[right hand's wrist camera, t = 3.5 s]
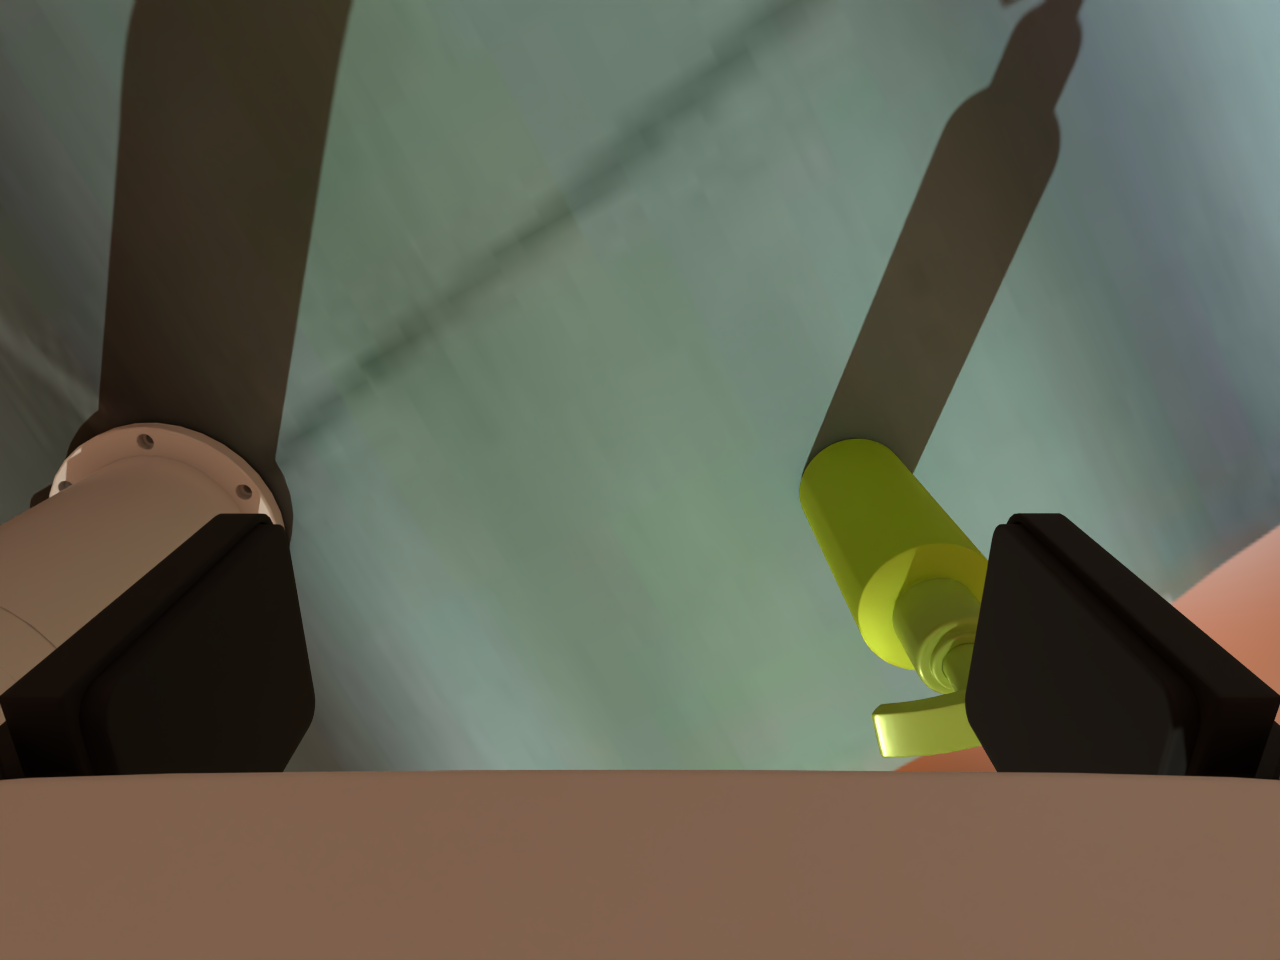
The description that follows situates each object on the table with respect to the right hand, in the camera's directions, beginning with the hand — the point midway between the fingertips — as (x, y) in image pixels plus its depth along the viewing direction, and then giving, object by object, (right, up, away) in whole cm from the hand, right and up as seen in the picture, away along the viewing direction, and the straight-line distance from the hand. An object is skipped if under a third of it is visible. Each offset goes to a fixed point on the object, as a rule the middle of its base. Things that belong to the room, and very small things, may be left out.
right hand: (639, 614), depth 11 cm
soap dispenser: (+11, +1, +35) cm, 36 cm away
